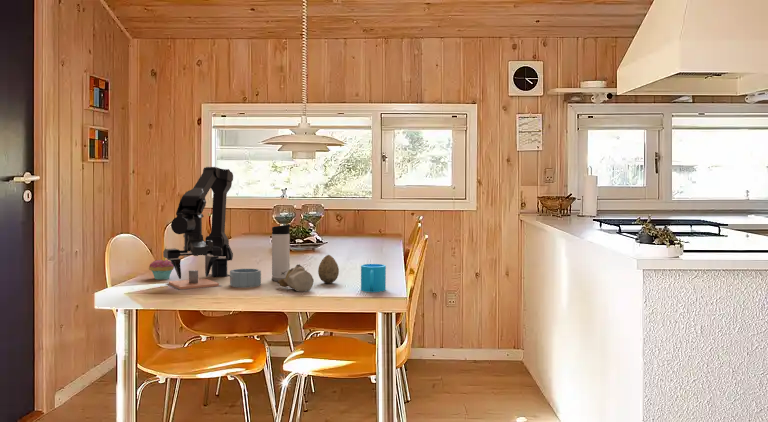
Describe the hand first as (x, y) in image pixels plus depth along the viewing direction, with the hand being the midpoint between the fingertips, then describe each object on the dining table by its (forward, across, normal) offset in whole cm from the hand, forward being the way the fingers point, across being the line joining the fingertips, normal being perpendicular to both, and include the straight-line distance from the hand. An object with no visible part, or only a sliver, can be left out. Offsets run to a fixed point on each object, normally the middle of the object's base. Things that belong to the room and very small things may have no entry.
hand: (193, 277), depth 239 cm
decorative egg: (+3, +42, -18) cm, 46 cm away
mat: (+3, 0, 0) cm, 3 cm away
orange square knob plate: (+2, 0, 0) cm, 2 cm away
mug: (+3, +47, -39) cm, 61 cm away
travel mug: (+3, +31, -3) cm, 31 cm away
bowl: (+3, +15, -9) cm, 18 cm away
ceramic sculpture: (+3, +27, -24) cm, 36 cm away
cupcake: (+3, -5, +20) cm, 21 cm away
